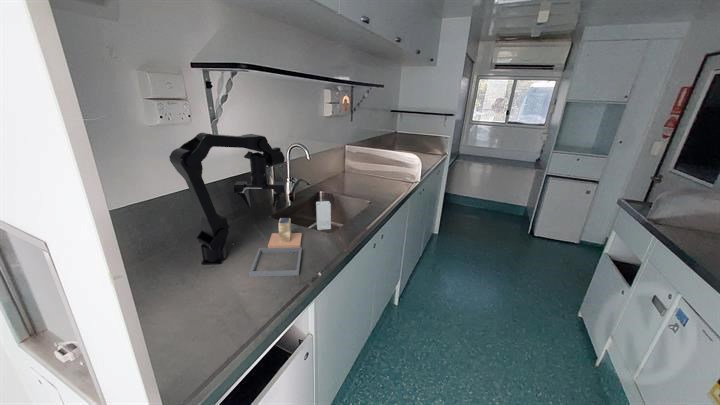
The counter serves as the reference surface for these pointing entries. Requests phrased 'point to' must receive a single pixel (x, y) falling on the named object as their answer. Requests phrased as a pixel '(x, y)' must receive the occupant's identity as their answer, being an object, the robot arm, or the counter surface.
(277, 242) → the terracotta tile
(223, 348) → the counter surface
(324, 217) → the skincare box
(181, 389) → the counter surface
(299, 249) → the grey picture frame
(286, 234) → the birch label block
